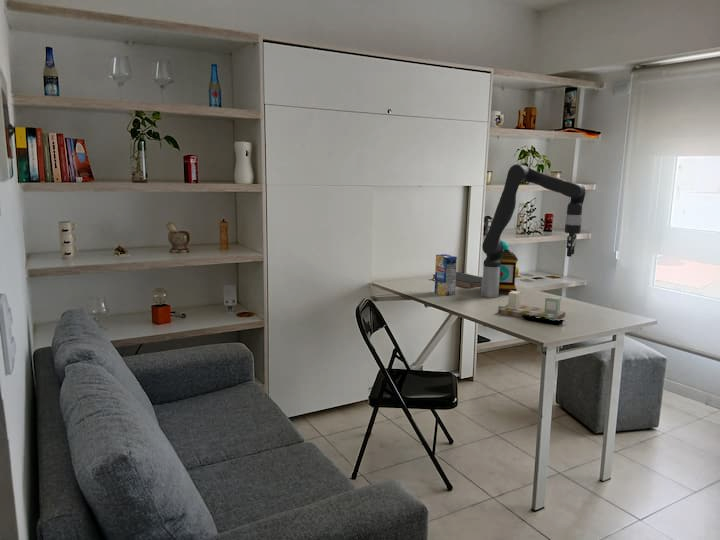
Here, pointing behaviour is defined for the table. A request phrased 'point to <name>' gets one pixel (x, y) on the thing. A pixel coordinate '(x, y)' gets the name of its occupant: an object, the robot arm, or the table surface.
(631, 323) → the table surface
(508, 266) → the decorative lantern
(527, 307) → the walnut shelf
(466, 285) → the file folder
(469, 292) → the table surface
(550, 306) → the green carton
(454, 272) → the beverage box
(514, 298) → the cream carton
